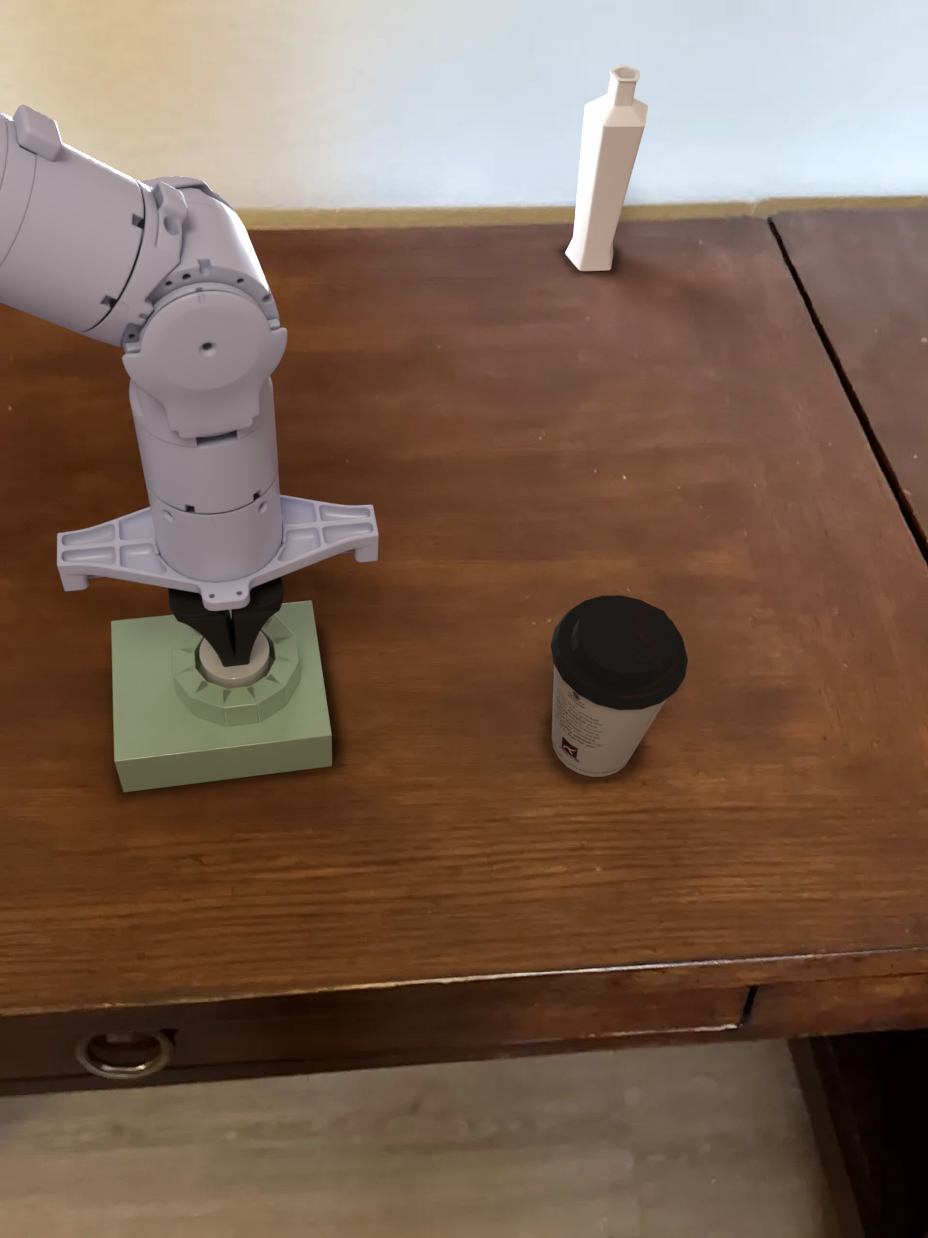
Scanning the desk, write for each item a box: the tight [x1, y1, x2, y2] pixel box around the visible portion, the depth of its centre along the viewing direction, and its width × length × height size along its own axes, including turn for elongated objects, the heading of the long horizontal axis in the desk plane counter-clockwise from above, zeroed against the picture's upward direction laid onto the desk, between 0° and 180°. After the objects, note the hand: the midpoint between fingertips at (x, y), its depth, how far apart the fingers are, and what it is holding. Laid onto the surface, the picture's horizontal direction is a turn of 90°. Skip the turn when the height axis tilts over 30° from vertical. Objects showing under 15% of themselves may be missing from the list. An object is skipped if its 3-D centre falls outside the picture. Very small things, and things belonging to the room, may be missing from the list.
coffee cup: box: [550, 594, 689, 778], centre depth 64 cm, size 7×7×10 cm
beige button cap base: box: [110, 600, 333, 793], centre depth 65 cm, size 11×9×5 cm
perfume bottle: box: [564, 64, 649, 272], centre depth 89 cm, size 5×4×15 cm
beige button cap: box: [199, 631, 271, 689], centre depth 64 cm, size 4×4×2 cm
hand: (234, 650), depth 63 cm, fingers closed, pressing on beige button cap
